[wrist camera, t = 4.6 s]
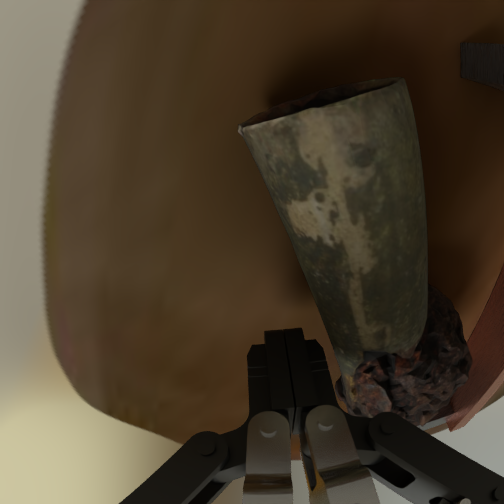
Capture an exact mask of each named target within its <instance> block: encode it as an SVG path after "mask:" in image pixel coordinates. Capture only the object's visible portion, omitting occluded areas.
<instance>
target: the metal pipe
mask: <svg viewBox="0 0 504 504" xmlns="http://www.w3.org/2000/svg"><path fill="white" fill-rule="evenodd" d="M238 132H239V133H240V134H241V135H242V136H243V138H244V140H245V142H246V144H247V146H248V148H249V150H250V152H251V154H252V156H253V158H254V160H255V162H256V164H257V167H258V169H259V171H260V173H261V175H262V177H263V180H264V182H265V184H266V186H267V188H268V191H269V193H270V195H271V197H272V200H273V202H274V204H275V207H276V209H277V211H278V214H279V216H280V218H281V220H282V222H283V224H284V227H285V229H286V231H287V233H288V235H289V237H290V240H291V242H292V245H293V248H294V250H295V253H296V256H297V258H298V261H299V263H300V266H301V268H302V270H303V273H304V275H305V278H306V280H307V282H308V285H309V287H310V290H311V292H312V295H313V297H314V300H315V302H316V305H317V307H318V310H319V312H320V315H321V317H322V320H323V323H324V325H325V328H326V330H327V333H328V335H329V338H330V341H331V344H332V346H333V349H334V352H335V356H336V359H337V362H338V364H339V367H340V371H341V374H342V375H341V376H340V378H339V379H338V380H337V381H336V385H335V392H336V394H337V396H338V398H339V400H340V401H344V403H345V404H346V405H347V410H348V413H349V414H350V415H353V416H359V417H369V418H373V417H374V416H375V415H377V414H379V413H381V412H393V413H396V414H398V415H399V416H401V417H402V418H404V419H406V420H407V421H409V422H410V423H412V424H413V425H415V426H417V425H421V426H422V427H423V426H424V425H425V424H426V423H427V422H429V421H430V420H431V419H432V418H433V417H434V416H435V415H437V414H438V413H439V411H440V408H442V407H443V406H447V405H448V403H449V402H450V398H451V397H452V396H453V394H454V393H455V392H456V391H457V388H458V387H461V386H462V385H464V384H465V383H466V381H467V379H468V377H469V374H468V372H469V370H470V368H471V365H472V361H473V360H472V357H471V354H470V351H469V348H468V345H467V343H466V341H465V339H464V336H463V326H462V322H461V320H460V317H459V314H458V312H457V311H456V310H455V309H454V306H453V304H452V302H451V300H450V299H448V298H447V297H446V296H445V295H443V294H442V293H441V292H440V291H439V290H438V289H436V288H435V287H432V286H431V285H429V284H428V241H427V216H426V201H425V189H424V178H423V169H422V161H421V153H420V146H419V140H418V134H417V128H416V122H415V117H414V112H413V107H412V103H411V99H410V96H409V92H408V89H407V85H406V82H405V79H404V78H402V77H401V78H400V77H395V78H384V79H374V80H368V81H363V82H358V83H353V84H344V85H340V86H338V87H334V88H328V89H323V90H320V91H317V92H314V93H311V94H309V95H306V96H304V97H301V98H299V99H296V100H291V101H287V102H284V103H281V104H278V105H276V106H273V107H272V108H270V109H268V110H267V111H265V112H262V113H259V114H257V115H255V116H253V117H252V118H250V119H249V120H247V121H246V122H244V123H242V124H238Z"/></svg>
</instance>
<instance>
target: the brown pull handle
mask: <svg viewBox="0 0 504 504" xmlns="http://www.w3.org/2000/svg"><path fill="white" fill-rule="evenodd" d="M461 77H462V78H466V79H469V80H472V81H475V82H478V83H481V84H484V85H487V86H490V87H493V88H496V89H499V90H501V91H504V44H489V43H461ZM467 345H468V348H469V351H470V354H471V357H472V360H473V361H472V365H471V368H470V370H469V372H468V374H469V377H468V379H467V381H466V383H465V384H464V385H462V386H461V387H458V388H457V391H456V392H455V393H454V394H453V396H452V397H451V398H450V402H449V403H448V405H447V406H443V407H442V408H440V411H439V413H438V414H437V415H435V416H434V417H433V418H432V419H431V420H430V421H429V422H427V423H426V424H425V425H424V426H423V427H422V426H421V425H417V427H418V428H420V429H421V430H426V429H429V428H432V427H435V426H438V425H440V424H443V423H447V425H448V428H449V430H450V432H452V431H454V430H457V429H459V428H461V427H464V426H465V425H466V424H467V423H468V422H469V421H470V419H472V417H474V415H475V414H476V413H477V412H478V411H479V410H480V409H481V408H482V407H483V406H484V404H485V403H486V402H487V401H488V400H489V399H490V398H491V396H492V395H493V394H494V393H495V392H496V390H497V389H498V388H499V387H500V385H501V384H502V383H503V382H504V265H503V268H502V270H501V273H500V275H499V278H498V280H497V283H496V285H495V287H494V290H493V292H492V294H491V296H490V299H489V301H488V303H487V305H486V307H485V309H484V311H483V313H482V315H481V317H480V319H479V321H478V323H477V325H476V327H475V329H474V331H473V333H472V335H471V336H470V338H469V340H468V342H467Z"/></svg>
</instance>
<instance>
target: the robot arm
mask: <svg viewBox="0 0 504 504" xmlns="http://www.w3.org/2000/svg"><path fill="white" fill-rule="evenodd" d="M264 341H265V344H259V345H252V346H251V348H250V350H249V352H248V355H247V364H248V387H249V409H250V410H249V416H248V419H247V420H246V422H245V423H244V424H243V425H242V426H241V427H239V428H237V429H235V430H233V431H230V432H227V433H224V434H221V435H219V434H217V433H215V432H210V431H204V432H200V433H197V434H195V435H193V436H192V437H191V438H190V439H189V440H188V441H187V442H186V443H185V444H184V445H183V446H182V447H181V448H180V449H179V450H178V451H177V452H176V453H175V454H174V455H173V456H172V457H171V458H169V459H168V460H167V461H166V462H165V463H164V464H163V465H162V466H161V467H160V468H159V469H158V470H157V471H156V472H155V473H153V474H152V475H151V476H150V477H149V478H148V479H147V480H146V481H145V482H143V483H142V484H141V485H140V486H139V487H138V488H137V489H136V490H134V491H133V492H132V493H131V494H130V495H129V496H127V497H126V498H125V499H124V500H123V501H122V502H120V503H119V504H211V503H212V502H213V501H214V500H215V499H216V498H217V497H218V496H219V495H220V494H221V493H222V491H223V490H224V489H225V488H226V487H227V486H228V485H229V484H230V483H231V482H232V481H233V480H235V479H238V478H241V477H243V476H245V481H244V486H243V499H242V504H293V486H292V480H291V453H290V438H291V432H292V433H293V434H299V437H300V455H301V459H302V464H303V468H304V472H305V477H306V480H307V485H308V490H309V502H310V504H380V502H379V498H378V495H377V492H376V489H375V486H374V483H373V480H372V477H373V478H375V479H376V480H377V481H379V482H381V483H382V484H384V485H385V486H387V487H388V488H390V489H391V490H393V491H394V492H396V493H397V494H399V495H400V496H402V497H404V498H405V499H407V500H408V501H410V502H412V503H413V504H504V477H502V476H500V475H498V474H496V473H495V472H493V471H491V470H489V469H487V468H486V467H484V466H482V465H480V464H478V463H477V462H475V461H473V460H471V459H470V458H468V457H466V456H465V455H463V454H461V453H459V452H458V451H456V450H454V449H453V448H451V447H449V446H448V445H446V444H444V443H443V442H441V441H439V440H438V439H436V438H434V437H433V436H431V435H430V434H428V433H426V432H425V431H423V430H421V429H420V428H418V427H417V426H415V425H413V424H412V423H410V422H409V421H407V420H406V419H404V418H402V417H401V416H399V415H398V414H396V413H393V412H381V413H379V414H377V415H375V416H374V417H373V418H369V417H359V416H353V415H350V414H348V413H346V412H344V411H343V410H342V409H341V408H340V406H339V405H338V403H337V400H336V396H335V392H334V388H333V384H332V380H331V376H330V372H329V370H328V365H327V361H326V357H325V353H324V350H323V348H322V346H321V345H320V344H319V343H318V342H317V341H316V339H314V340H305V339H304V335H303V330H302V328H293V329H283V330H270V331H264Z"/></svg>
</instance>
